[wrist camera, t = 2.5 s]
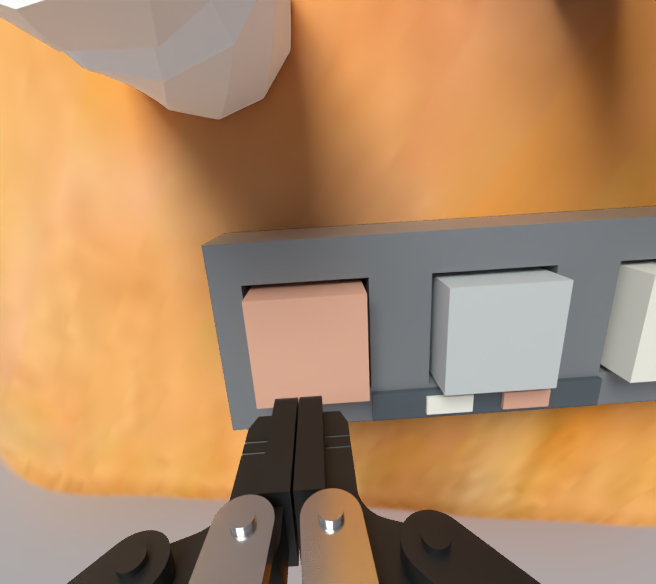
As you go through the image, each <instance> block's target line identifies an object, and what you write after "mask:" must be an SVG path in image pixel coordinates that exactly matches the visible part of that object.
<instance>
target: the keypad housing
mask: <svg viewBox="0 0 656 584" xmlns="http://www.w3.org/2000/svg"><path fill="white" fill-rule="evenodd" d="M202 250H203V256H204V262H205V268H206V274H207V280H208V286H209V291H210V297H211V303H212V309H213V315H214V321H215V326H216V332H217V338H218V344H219V350H220V356H221V361H222V367H223V373H224V379H225V385H226V391H227V397H228V402H229V408H230V414H231V420H232V426H233V430H242V429H249V428H250V427H251V425H252V424H253V423H254V422H255V420H256V419H257V418H258V417H260V416H272V412H273V408H262V409H257V406H256V399H255V392H254V385H253V378H252V371H251V364H250V357H249V350H248V343H247V336H246V329H245V322H244V315H243V308H242V301H243V299H244V297H245V296H246V294H247V293H248V291H249V290H250V288H251V286H252V285H262V284H277V283H292V282H307V281H323V280H338V279H353V278H360V279H361V282H362V284H363V286H364V288H365V290H366V293H367V312H368V350H369V388H370V401H363V402H348V403H334V404H323V412H328V411H340V412H341V413H342V415H343V416H344V417H345V418H346V420H347V421H348V422H356V421H370V420H373V421H379V420H393V419H407V418H422V417H436V416H450V415H464V414H479V413H493V412H507V411H521V410H536V409H550V408H564V407H578V406H593V405H598V404H613V403H627V402H641V401H655V400H656V381H650V382H636V383H629V382H628V381H626V380H625V379H623V378H622V377H620V376H619V375H617V374H615V373H614V372H612V371H611V370H609V369H608V368H606V367H604V366H603V365H601V364H600V363H601V358H602V353H603V348H604V344H605V339H606V334H607V329H608V324H609V319H610V314H611V309H612V304H613V299H614V294H615V289H616V284H617V279H618V274H619V269H620V264H621V261H628V260H644V259H656V206H644V207H628V208H613V209H597V210H581V211H566V212H550V213H534V214H519V215H503V216H487V217H471V218H456V219H440V220H424V221H409V222H393V223H377V224H361V225H346V226H330V227H314V228H299V229H283V230H267V231H252V232H236V233H224V234H222V235H220V236H218V237H216V238H215V239H213V240H211V241H209V242H207V243H205V244H203V245H202ZM537 266H538V267H540V268H543V269H546V270H548V271H551V272H554V273H556V274H559V275H562V276H564V277H567V278H570V279H572V280H574V281H573V288H572V294H571V300H570V306H569V312H568V318H567V325H566V331H565V337H564V343H563V349H562V355H561V362H560V368H559V374H558V380H557V386H556V388H550V389H535V390H521V391H506V392H492V393H478V394H463V395H449V396H444V394H443V392H442V391H441V389H440V387H439V386H438V384H437V382H436V381H435V379H434V377H433V376H432V374H431V372H430V371H429V357H430V327H431V297H432V273H445V272H460V271H476V270H491V269H506V268H521V267H537Z"/></svg>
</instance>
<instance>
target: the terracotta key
mask: <svg viewBox="0 0 656 584" xmlns="http://www.w3.org/2000/svg"><path fill="white" fill-rule="evenodd" d="M242 308H243V315H244V322H245V329H246V336H247V343H248V350H249V357H250V364H251V371H252V378H253V385H254V392H255V399H256V406H257V409H262V408H273V407H274V401H275V399H281V398H295V397H298V399H299V398H300V397H308V396H322V402H323V404H334V403H348V402H363V401H370V388H369V350H368V312H367V293H366V290H365V288H364V286H363V284H362V282H361V279H360V278H353V279H338V280H323V281H307V282H292V283H277V284H262V285H252V286H251V288H250V290H249V291H248V293H247V294H246V296H245V297H244V299H243V301H242Z"/></svg>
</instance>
